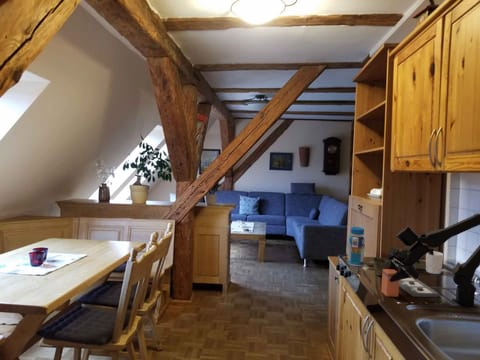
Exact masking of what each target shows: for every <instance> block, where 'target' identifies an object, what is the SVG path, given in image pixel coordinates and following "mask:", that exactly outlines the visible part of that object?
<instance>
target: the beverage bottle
mask: <svg viewBox="0 0 480 360" xmlns="http://www.w3.org/2000/svg"><path fill="white" fill-rule="evenodd" d="M364 234H365V228H363V227H359V226H351V227H350V236H349V238H348V241H349V242H348V252H347V253H348V255H347V264H348V265H350V266H353V267H362V266H364V258H365V249H366V248H365V247H366V245H365V242H366V240H365V238H364Z"/></svg>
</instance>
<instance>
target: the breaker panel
mask: <svg viewBox="0 0 480 360" xmlns="http://www.w3.org/2000/svg"><path fill="white" fill-rule="evenodd" d="M410 277H411V278H406V279H402V280H399V288H401V289H403V291H405V292H407V294H409V295H410V296H412V297H416V298H417V297H419V298H420V297H421V298H424V297H425V298H429V297H430V298H439V295H440V294H439V292H437V291H435V289H433V288H431V287H429V286H428V285H426V283H424V282H422V281H421V280H419V278H418V279H417V280H415V279H414V278H412V275H411V276H410Z"/></svg>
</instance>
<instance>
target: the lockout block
mask: <svg viewBox="0 0 480 360" xmlns="http://www.w3.org/2000/svg"><path fill="white" fill-rule="evenodd" d="M396 272H397V271H396V270H394V269H383V271H382V276H381V291H380V292H381V293H382V294H383V295H384V296H386V297H393V298H395V297H399V291H400V290H399V289H400V286H399V280H398V281H394V282H390V279H391V277H392V276H393V275H394V274H395V273H396Z"/></svg>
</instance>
